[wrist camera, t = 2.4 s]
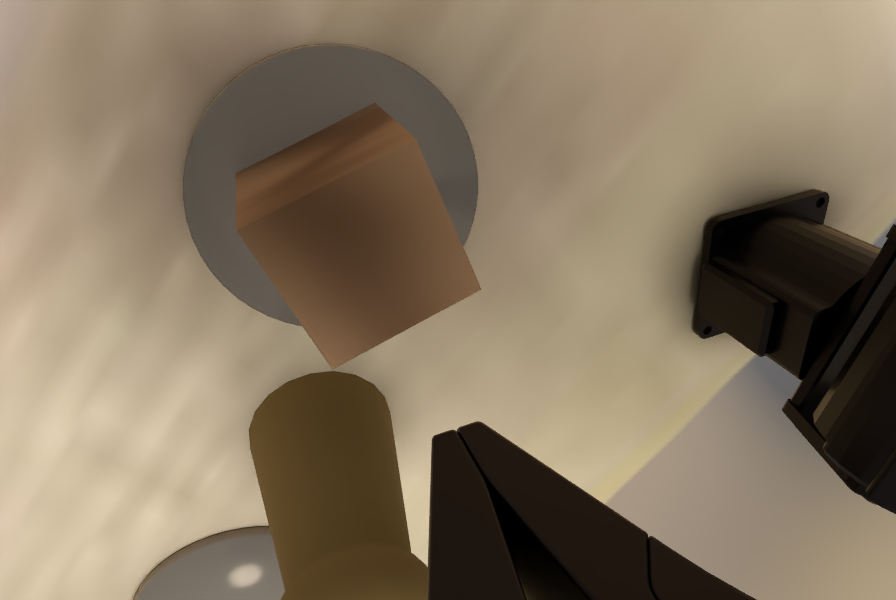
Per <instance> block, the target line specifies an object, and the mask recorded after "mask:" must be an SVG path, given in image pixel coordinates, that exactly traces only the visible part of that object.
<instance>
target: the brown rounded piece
mask: <svg viewBox="0 0 896 600" xmlns="http://www.w3.org/2000/svg"><path fill="white" fill-rule="evenodd" d="M249 437H250V449H251V453H252V457H253V461H254V465H255V469H256V473H257V477H258V482H259V486H260V490H261V494H262V498H263V502H264V506H265V510H266V515H267V519H268V523H269V527H270V531H271V535H272V539H273V544H274V548H275V552H276V556H277V560H278V564H279V568H280V572H281V577H282V581H283V585H284V589H285V593H284V594H283V596H282V598H281V600H427V579H428V568H427V566H426V565H425V564H424V563H423V562H422V561H421V560H420V559H418V558H417V557H416V556H415V555H414V554H412V553H411V547H410V541H409V534H408V527H407V521H406V514H405V508H404V501H403V494H402V488H401V481H400V474H399V468H398V461H397V455H396V448H395V441H394V435H393V428H392V421H391V415H390V411H389V408H388V405H387V402H386V399H385V397H384V396H383V395H382V394H381V392H380V391H379V390H378V389H377V388H376V387H375V386H374V385H373V384H372V383H370V382H368V381H366V380H364V379H362V378H360V377H358V376H356V375H351V374H345V373H339V372H325V373H314V374H309V375H306V376H303V377H301V378H298V379H295V380H292V381H289V382H287V383H286V384H284V385H283V386H281V387H280V388H278V389H277V390H276V391H274V392H273V393H271V394H270V395H269V396H268V397H267V398H266V399H265V400H264V402H263V403H262V404H261V405H260V407H259V408H258V409H257V410H256V412H255V414H254V417H253V420H252V423H251V426H250V428H249Z"/></svg>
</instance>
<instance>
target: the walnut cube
mask: <svg viewBox="0 0 896 600" xmlns="http://www.w3.org/2000/svg"><path fill="white" fill-rule="evenodd" d="M236 231H237V232H238V234H239V235H240V237H241V238H242V240H243V241H244V242H245V244H246V245H247V247H248V248H249V250H250V251H251V253H252V254H253V255H254V257H255V258H256V260H257V261H258V263H259V264H260V266H261V267H262V268H263V270H264V271H265V273H266V274H267V276H268V277H269V279H270V280H271V281H272V283H273V284H274V286H275V287H276V289H277V290H278V291H279V293H280V294H281V296H282V297H283V299H284V300H285V302H286V303H287V304H288V306H289V307H290V309H291V310H292V312H293V313H294V315H295V316H296V317H297V319H298V320H299V322H300V323H301V325H302V326H303V328H304V329H305V330H306V332H307V333H308V335H309V336H310V338H311V339H312V340H313V342H314V343H315V345H316V346H317V348H318V349H319V351H320V352H321V353H322V355H323V356H324V358H325V359H326V361H327V362H328V364H329V365H330V366H331V368H332V369H334V368H336V367H338V366H339V365H341V364H343V363H345V362H347V361H349V360H351V359H353V358H354V357H356V356H358V355H360V354H362V353H364V352H366V351H367V350H369V349H371V348H373V347H375V346H377V345H379V344H380V343H382V342H384V341H386V340H388V339H390V338H392V337H393V336H395V335H397V334H399V333H401V332H403V331H405V330H406V329H408V328H410V327H412V326H414V325H416V324H418V323H419V322H421V321H423V320H425V319H427V318H429V317H431V316H433V315H434V314H436V313H438V312H440V311H442V310H444V309H446V308H447V307H449V306H451V305H453V304H455V303H457V302H459V301H460V300H462V299H464V298H466V297H468V296H470V295H472V294H473V293H475V292H477V291H479V290H481V288H480V285H479V283H478V281H477V278H476V276H475V274H474V271H473V269H472V267H471V265H470V262H469V260H468V258H467V255H466V253H465V251H464V248H463V246H462V244H461V242H460V239H459V237H458V235H457V232H456V230H455V228H454V225H453V223H452V221H451V219H450V216H449V214H448V212H447V209H446V207H445V205H444V202H443V200H442V198H441V195H440V193H439V191H438V189H437V186H436V184H435V182H434V179H433V177H432V175H431V172H430V170H429V168H428V166H427V163H426V161H425V159H424V156H423V154H422V152H421V149H420V147H419V145H418V143H417V140H416V138H415V137H414V136H412V135H411V134H410V133H409V132H408V131H407V130H406V129H405V128H403V127H402V126H401V125H400V124H399V123H398V122H397V121H395V120H394V119H393V118H392V117H391V116H390V115H389V114H387V113H386V112H385V111H384V110H383V109H382V108H381V107H379V106H378V105H377V104H376V103H374V104H372V105H370V106H368V107H366V108H364V109H362V110H360V111H358V112H356V113H354V114H352V115H350V116H348V117H346V118H344V119H342V120H340V121H338V122H336V123H334V124H332V125H330V126H328V127H326V128H324V129H322V130H320V131H318V132H316V133H314V134H312V135H310V136H309V137H307V138H305V139H303V140H301V141H299V142H297V143H295V144H293V145H291V146H289V147H287V148H285V149H283V150H281V151H279V152H277V153H275V154H273V155H271V156H269V157H267V158H265V159H263V160H261V161H259V162H257V163H255V164H253V165H251V166H249V167H247V168H245V169H243V170H241V171H239V172H237V173H236Z"/></svg>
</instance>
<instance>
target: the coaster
mask: <svg viewBox="0 0 896 600" xmlns="http://www.w3.org/2000/svg"><path fill="white" fill-rule="evenodd" d="M374 103H376V104H377V105H378V106H379V107H381V108H382V109H383V110H384V111H385V112H386V113H387V114H389V115H390V116H391V117H392V118H393V119H394V120H395V121H397V122H398V123H399V124H400V125H401V126H402V127H403V128H405V129H406V130H407V131H408V132H409V133H410V134H411V135H412V136H414V137H415V138H416V140H417V143H418V145H419V147H420V149H421V152H422V154H423V156H424V159H425V161H426V163H427V166H428V168H429V170H430V172H431V175H432V177H433V179H434V182H435V184H436V186H437V189H438V191H439V193H440V195H441V198H442V200H443V202H444V205H445V207H446V209H447V212H448V214H449V216H450V219H451V221H452V223H453V225H454V228H455V230H456V232H457V235H458V237H459V239H460V242H461V244H462V246H464V244H465V242H466V240H467V238H468V235H469V232H470V229H471V227H472V224H473V220H474V215H475V211H476V205H477V194H478V176H477V167H476V161H475V155H474V152H473V148H472V145H471V142H470V138H469V136H468V134H467V132H466V129H465V127H464V125H463V123H462V121H461V119H460V117H459V116H458V114H457V113H456V111H455V110H454V108H453V106H452V105H451V104H450V102H449V101H448V100H447V99H446V98H445V97H444V95H443V94H442V93H441V92H440V91H439V90H438V89H437V88H436V87H435V86H434V85H433V84H432V83H431V82H430V81H428V80H427V79H426V78H425V77H424V76H422V75H421V74H419V73H418V72H416V71H415V70H413V69H412V68H411V67H409V66H407V65H405V64H403V63H401V62H399V61H397V60H395V59H393V58H391V57H389V56H387V55H385V54H382V53H379V52H376V51H373V50H370V49H367V48H362V47H356V46H351V45H343V44H317V45H307V46H301V47H297V48H293V49H289V50H285V51H282V52H279V53H277V54H274V55H272V56H269V57H267V58H265V59H262V60H261V61H259V62H257V63H256V64H254V65H252V66H251V67H249V68H247V69H245V70H244V71H243V72H242V73H240V74H239V75H238V76H237V77H235V78H234V79H233V80H232V81H230V82H229V83H228V84H227V85H226V86H225V87H224V88H223V89H222V91H221V92H220V93H219V94H218V95H217V96H216V97H215V98H214V99H213V101H212V102H211V104H210V105H209V107H208V108H207V110H206V111H205V113H204V114H203V116H202V118H201V120H200V122H199V124H198V126H197V128H196V130H195V132H194V135H193V138H192V141H191V144H190V148H189V151H188V154H187V158H186V164H185V171H184V178H183V200H184V207H185V213H186V219H187V223H188V226H189V229H190V232H191V235H192V238H193V241H194V243H195V245H196V247H197V249H198V251H199V253H200V255H201V257H202V258H203V260H204V261H205V263H206V264H207V266H208V268H209V269H210V271H211V272H212V273H213V274H214V275H215V276H216V278H217V279H218V280H219V281H220V282H221V283H222V285H223V286H225V287H226V288H227V289H228V290H229V291H230V292H231V293H232V294H234V295H235V296H236V297H237V298H238V299H240V300H241V301H243V302H244V303H246V304H247V305H249V306H250V307H252V308H254V309H255V310H257V311H259V312H261V313H263V314H265V315H267V316H270V317H272V318H275V319H278V320H280V321H283V322H286V323H291V324H295V325H299V326H302V325H301V323H300V322H299V320H298V319H297V317H296V316H295V315H294V313H293V312H292V310H291V309H290V307H289V306H288V304H287V303H286V302H285V300H284V299H283V297H282V296H281V294H280V293H279V291H278V290H277V289H276V287H275V286H274V284H273V283H272V281H271V280H270V279H269V277H268V276H267V274H266V273H265V271H264V270H263V268H262V267H261V266H260V264H259V263H258V261H257V260H256V258H255V257H254V255H253V254H252V253H251V251H250V250H249V248H248V247H247V245H246V244H245V242H244V241H243V240H242V238H241V237H240V235H239V234H238V232H237V231H236V173H237V172H239V171H241V170H243V169H245V168H247V167H249V166H251V165H253V164H255V163H257V162H259V161H261V160H263V159H265V158H267V157H269V156H271V155H273V154H275V153H277V152H279V151H281V150H283V149H285V148H287V147H289V146H291V145H293V144H295V143H297V142H299V141H301V140H303V139H305V138H307V137H309V136H310V135H312V134H314V133H316V132H318V131H320V130H322V129H324V128H326V127H328V126H330V125H332V124H334V123H336V122H338V121H340V120H342V119H344V118H346V117H348V116H350V115H352V114H354V113H356V112H358V111H360V110H362V109H364V108H366V107H368V106H370V105H372V104H374Z"/></svg>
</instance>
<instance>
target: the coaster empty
mask: <svg viewBox="0 0 896 600" xmlns="http://www.w3.org/2000/svg"><path fill="white" fill-rule="evenodd" d="M284 593H285V589H284V585H283V581H282V577H281V572H280V568H279V564H278V560H277V556H276V552H275V548H274V544H273V539H272V535H271V531H270V527H252V528H243V529H238V530H233V531H228V532H224V533H220V534H217V535H213V536H210V537H208V538H205V539H203V540H200V541H197V542H195V543H193V544H191V545H189V546H187V547H185V548H183V549H181V550H180V551H178V552H176V553H175V554H173V555H171V556H170V557H168V558H167V559H166V560H165V561H163V562H162V563H161V564H159V565H158V566H157V567H156V568H155V569H154V570H153V571H152V572H151V573H150V574H149V575H148V576H147V577H146V579H145V580H144V581H143V582H142V584H141V585H140V587H139V589H138V590H137V592H136V594H135V597H134V599H133V600H281V598H282V596H283V594H284Z"/></svg>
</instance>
